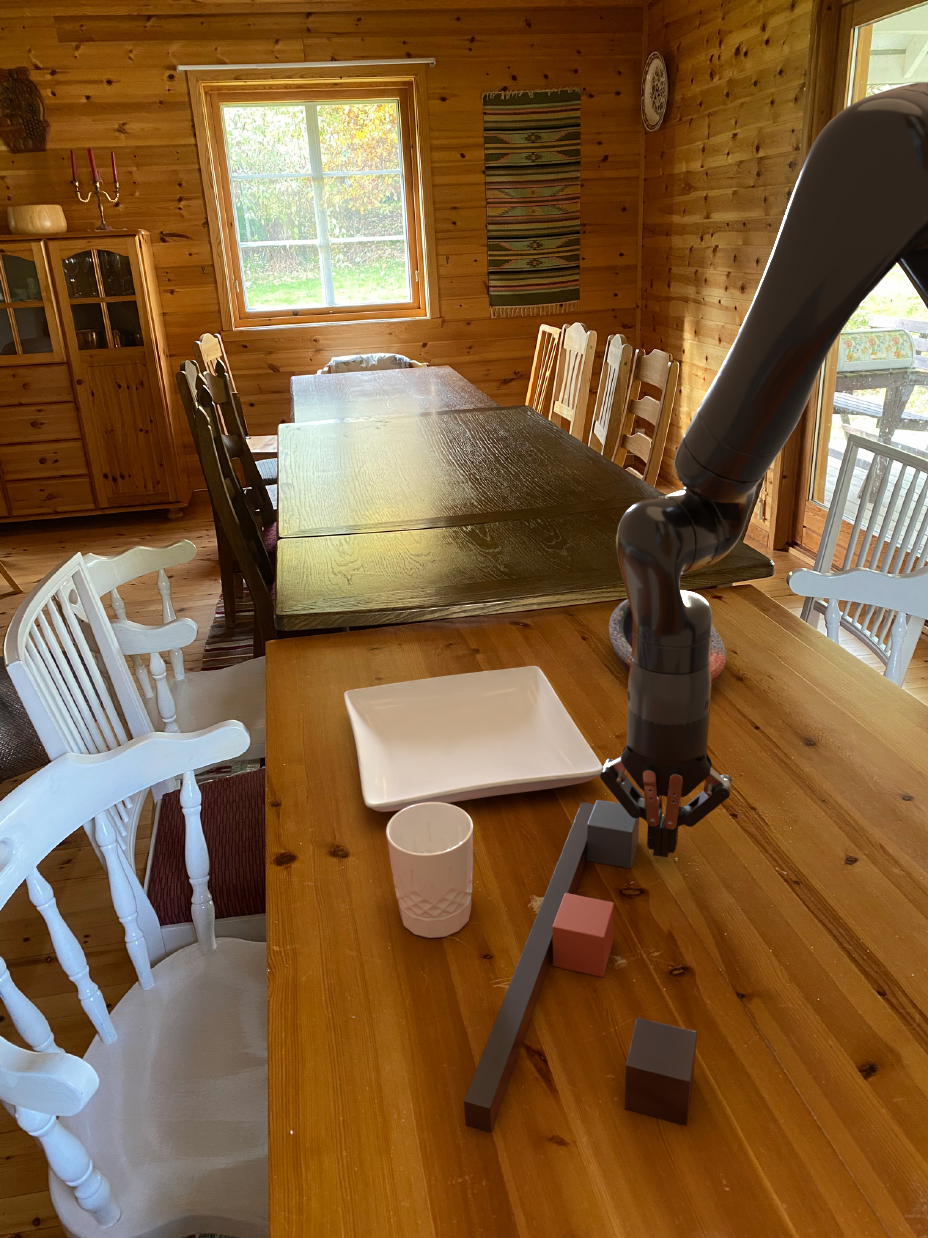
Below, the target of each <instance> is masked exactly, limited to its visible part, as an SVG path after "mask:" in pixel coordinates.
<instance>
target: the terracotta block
mask: <svg viewBox="0 0 928 1238" xmlns="http://www.w3.org/2000/svg"><path fill="white" fill-rule="evenodd" d="M614 924H615V902H614V901H613V902H612V901H608V900H604V899H603V900H602V899H598V898H593V897H587V896H584V895H583V896H582V895H577V894H575V895H573V894H568V893H565V894H564V897H563V900H562V902H561V905H560V908H559V910H558V913H557V916H556V919H555V921H554V924H553V958H552V966H553V967H555V968H559V969H563V970H569V971H573V972H577V973H580V974H581V973H582V974H585V975H586V974H587V975H590V976H595V977H600V978H604V976H605V973H606V969H607V965H608V961H609V958H610V955H611V950H612V948H613V944H614V931H615V930H614V928H615V925H614Z"/></svg>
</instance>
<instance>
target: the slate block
mask: <svg viewBox="0 0 928 1238" xmlns="http://www.w3.org/2000/svg"><path fill="white" fill-rule="evenodd" d="M594 804H595V805H594V808H593V811H592V813H591V816H590V819H589V821H588V824H587V861H586V862H593V863H598V864H603V865H608V866H614V867H619V868H623V869H629V870H630V869H632V866H633V863H634V859H635V855H636V852H637V848H638V844H639V834H640V817H639V818H632V817H631V816H630V815H629V814H628V812H627V811H626V810H625V809H624V807H623V806H622V805H621V804H620V802H615V801H608V800H601V799H596V800H595V803H594Z"/></svg>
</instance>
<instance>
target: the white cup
mask: <svg viewBox="0 0 928 1238" xmlns="http://www.w3.org/2000/svg"><path fill="white" fill-rule="evenodd" d="M385 829H386V830H385V834H386V841H387V848H388V854H389V863H390V869H391V874H392V879H393V885H394V890H395V896H396V899H397V902H398V910H399V915H400V919H401V922H402V925H403V927H404V928H406V929H407V930H408V931H409V932H411V933H412V934H414V935H416V936H418V937H424V938H428V939H433V938H435V939H437V938H445V937H448V936H451V935H452V934H455V933H457V932H459V931H460V930H461V929H463V927H464V926H465V925H466V924H467V923H468V922H469V920H470V916H471V913H472V912H471V911H472V893H473V871H474V870H473V869H474V824H473V820H472V818H471V816H470V815H469V814H468V813H467V812H466V811H465V810H464V809H462V808H461V807H458V806H456V805H454V804H451V803H440V802H427V803H420V804H416V805H412V806H410V807H407V808H405V809H403V810H399V811H398V812H397V813H395V814H394V815H393V816H392V817H391V819H390V820H389V821H388V822H387V826H386V828H385Z"/></svg>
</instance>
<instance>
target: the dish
mask: <svg viewBox="0 0 928 1238" xmlns="http://www.w3.org/2000/svg"><path fill="white" fill-rule="evenodd" d="M608 634H609V639H610V641H611V644H612V646H613V649H614V651H615V654H616V656H617V658H618V659H619V661H620V663H621V664H622V666H623V667H624V669H625V670H626V671H627V672H628V673H629V672H630V667H631V660H632V635H633V616H632V611H631V608H630V604H629V600H628V598H627V599H625V600H623V601H622V602H620V604H618V605H617V606H616V607H615V608H614V610H613V612H612V613H611V615H610V618H609V622H608ZM723 641H724V640H723V639H722V637H721V635H720V634H719V632H718V630H717V629H716V628H715V626H714V625H713V624H712V640H711V655H710V671H711V686H712V685H713V684H714V683H715V681H716V680H717V679H718V677H719V676H720V674H721V673H722V671H723V670H724V669H725V667H726V663H727V650H726V646H725V644H724V642H723Z"/></svg>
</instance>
